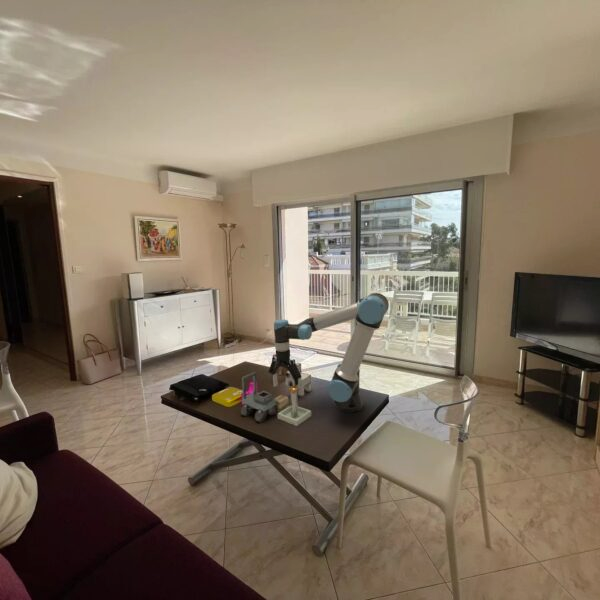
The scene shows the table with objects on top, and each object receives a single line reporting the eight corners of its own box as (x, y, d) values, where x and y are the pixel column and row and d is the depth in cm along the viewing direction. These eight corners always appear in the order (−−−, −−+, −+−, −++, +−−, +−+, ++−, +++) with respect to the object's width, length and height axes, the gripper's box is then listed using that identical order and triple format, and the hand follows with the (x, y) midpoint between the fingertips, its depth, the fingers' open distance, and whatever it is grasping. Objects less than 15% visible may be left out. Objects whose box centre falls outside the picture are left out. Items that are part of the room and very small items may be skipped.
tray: (311, 416, 160) (311, 410, 160) (296, 426, 151) (296, 421, 150) (292, 409, 167) (292, 404, 167) (277, 419, 158) (277, 413, 158)
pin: (300, 415, 159) (300, 387, 157) (295, 419, 156) (294, 390, 154) (293, 413, 162) (293, 384, 160) (287, 416, 159) (287, 388, 156)
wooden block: (288, 379, 208) (288, 352, 205) (275, 383, 201) (274, 356, 198) (285, 377, 211) (284, 351, 208) (272, 382, 204) (271, 355, 201)
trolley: (279, 413, 164) (278, 376, 161) (260, 425, 153) (258, 385, 150) (258, 405, 173) (257, 370, 170) (239, 416, 162) (237, 378, 159)
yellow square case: (231, 392, 190) (231, 385, 190) (249, 399, 181) (248, 391, 181) (210, 402, 178) (210, 394, 178) (228, 409, 170) (228, 401, 169)
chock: (288, 407, 170) (288, 397, 169) (280, 413, 164) (279, 402, 164) (281, 405, 173) (281, 394, 172) (272, 410, 167) (272, 399, 167)
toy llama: (313, 389, 192) (312, 357, 189) (296, 400, 178) (296, 366, 175) (303, 386, 196) (302, 355, 193) (286, 397, 182) (285, 363, 179)
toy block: (252, 407, 171) (252, 394, 170) (241, 406, 173) (241, 393, 172) (261, 395, 186) (261, 382, 185) (251, 394, 187) (250, 382, 186)
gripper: (306, 350, 161) (308, 390, 164) (269, 344, 176) (272, 381, 179) (297, 354, 155) (300, 395, 158) (260, 348, 170) (263, 386, 173)
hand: (285, 388), depth 169 cm, fingers open, 13 cm apart
